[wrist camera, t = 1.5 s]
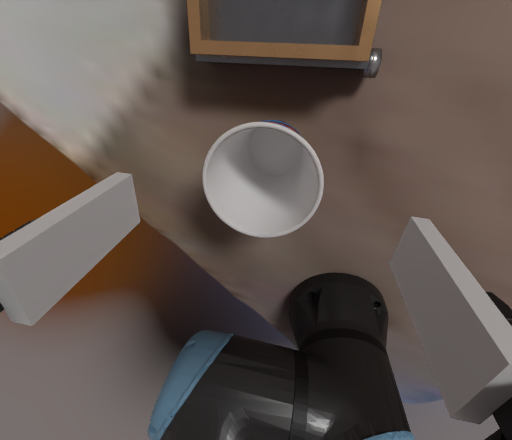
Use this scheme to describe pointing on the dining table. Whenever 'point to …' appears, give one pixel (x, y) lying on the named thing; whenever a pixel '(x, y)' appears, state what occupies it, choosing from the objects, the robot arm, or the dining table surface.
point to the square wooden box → (286, 33)
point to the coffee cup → (263, 179)
